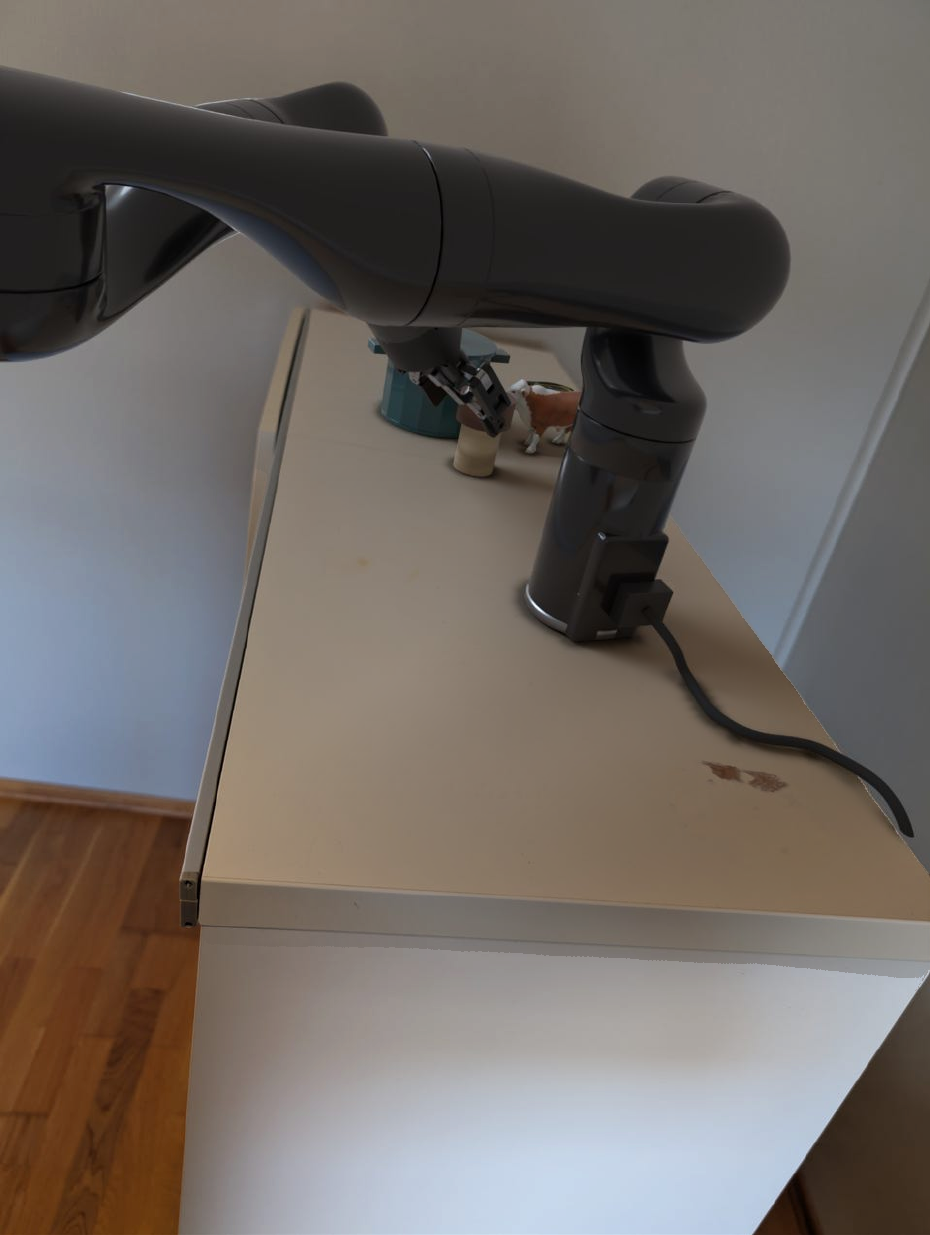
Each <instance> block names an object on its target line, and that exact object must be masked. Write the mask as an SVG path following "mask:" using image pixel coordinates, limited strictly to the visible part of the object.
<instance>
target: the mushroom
mask: <svg viewBox="0 0 930 1235" xmlns="http://www.w3.org/2000/svg"><path fill="white" fill-rule="evenodd" d="M468 387H469V386H468V385H467V386H464V387H462V388H461V391H460V393H461V394H463V393H464V391H465V390H466V389H467V388H468ZM505 392H506V391H505ZM506 393H507V392H506ZM507 395H508V397H509V399H510V401H511V405H510V406H509V407H508V408H507V409H506V410H505V412H504V413H503V414H502V415H503V417H504V419H505V421H506V426H505V427H504V428H503V430H502V431H501V432H500V433H499V435H497V436H496V437H495V438H492V437H490V436H489V435H487V433H486V431H485V430H484V428H483V426H482V424H481V422H480V421H479V419H478V417H477V415H476V414H475V413H474V412H473V411H472V410H471V409H470V408H469V407H468V406H467V405H466V404H464V405H460V404H458V406H457V411H456V419H457V420H458V421H459V422H460V423H461V429H460V434H459V437H458V439H457V444H456V449H455V454H454V459H453V467H454V469H456V470H457V471H459V472H460V473H461V474H462V473H463V474H465V475H468V476H471V477H480V478H481V477H488V476H490V475H492V474H493V471H494V466H495V463H496V459H497V454H498V449H499V445H500V441H501V436H502V433H506V432H508V431H509V430H510V429H511V427H512V422H513V418H514V413H515V411H516V410H515V405H516V399H515V398H514V397H513V396H512V395H511V394H509V393H507ZM473 399H474V401H475V402H476V403H477V404H478V405H479V406H480V404H479V403H478V401H477V399H476V398H475V396H474V397H473Z"/></svg>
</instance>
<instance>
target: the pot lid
mask: <svg viewBox="0 0 930 1235" xmlns="http://www.w3.org/2000/svg"><path fill="white" fill-rule="evenodd" d="M460 347H461V348H462V349H463V351H464V352H465V353H466V354H467V356H468V359H469V360H482V359H488V358H491V357H493V356H494V355H495V354H496V352H497V349H498V345H497V344H496V343H495V342H494V341H493V340H492V339H490V338H489V337H487V336H485V335H483V334H481V333H479V332H477V331H475V330H472V329H470V328H469V329H468V328H462V337H461V345H460Z"/></svg>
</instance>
